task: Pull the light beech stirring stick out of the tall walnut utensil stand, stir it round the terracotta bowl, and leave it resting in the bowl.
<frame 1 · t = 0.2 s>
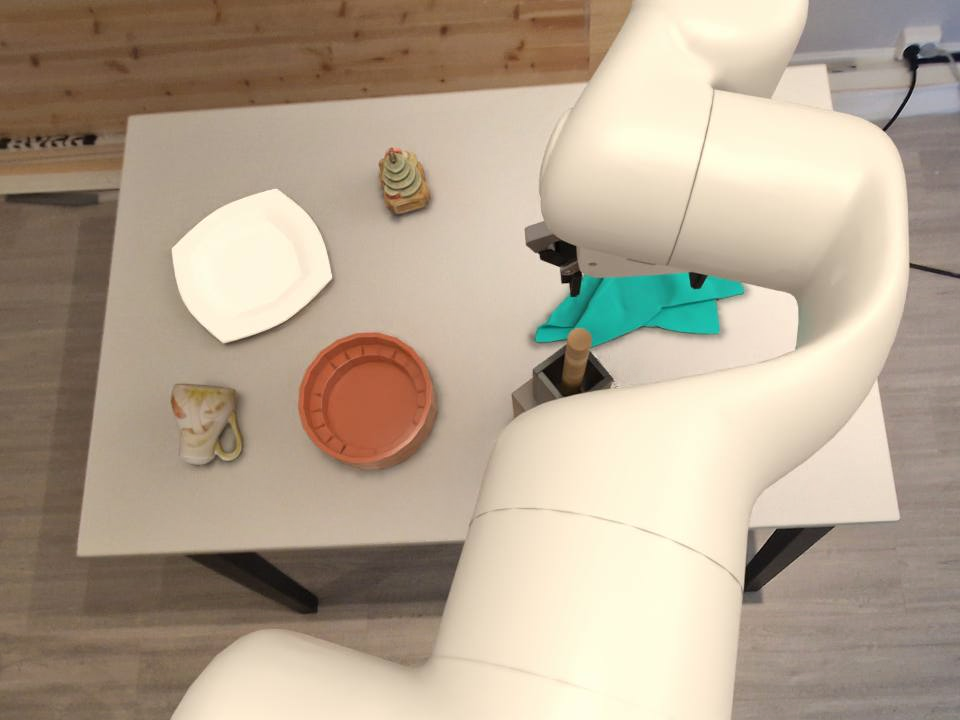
hand: (632, 276, 57), 28 cm above the table, tool pointing down, fingers open, 9 cm apart
plate: (256, 269, 92), on the table
ornament: (406, 191, 94), on the table
mug: (215, 427, 86), on the table
utensil stand: (562, 430, 83), on the table
stick: (568, 400, 69), point 14 cm above the table, touching utensil stand
cloth: (635, 293, 87), on the table
bowl: (374, 407, 85), on the table
knife: (670, 185, 92), on the table
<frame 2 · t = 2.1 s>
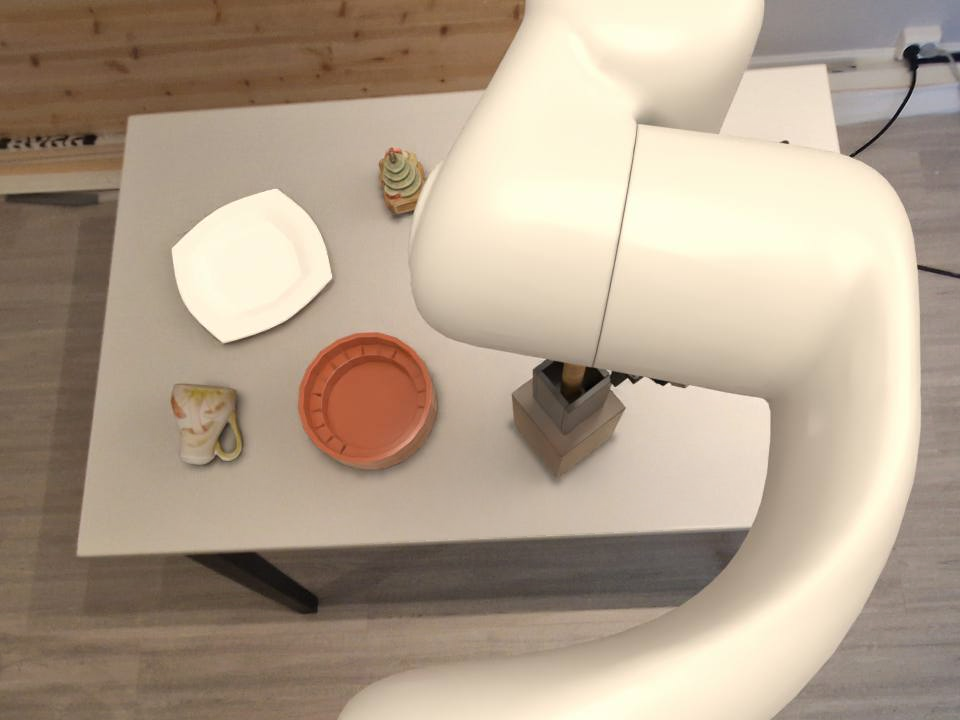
hand: (583, 318, 49), 36 cm above the table, tool pointing down, fingers open, 9 cm apart
nothing on the table moved.
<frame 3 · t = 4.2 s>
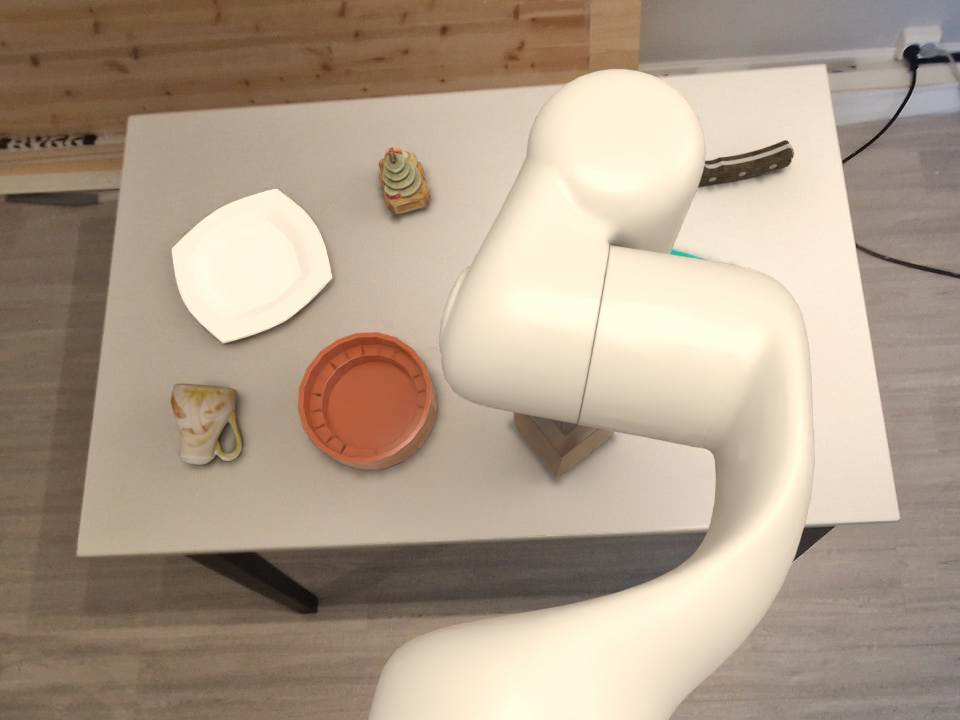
hand: (575, 361, 57), 27 cm above the table, tool pointing down, fingers closed on stick, 1 cm apart
stick: (568, 400, 69), point 14 cm above the table, touching gripper, utensil stand
everything else where it was.
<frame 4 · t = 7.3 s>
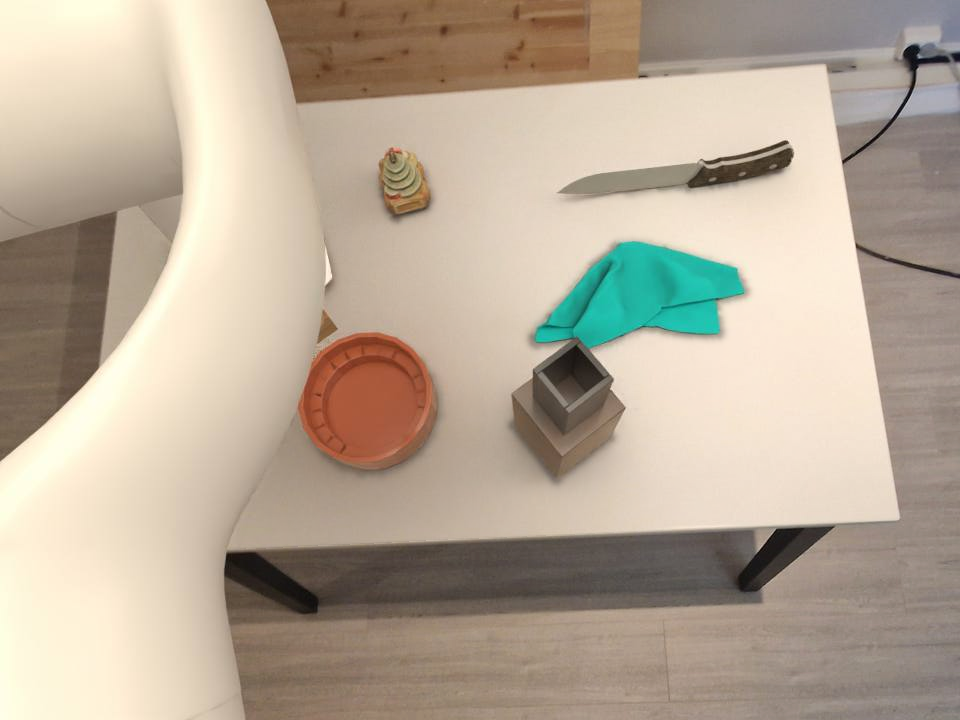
hand: (271, 271, 48), 39 cm above the table, tool pointing down, fingers closed on stick
stick: (323, 333, 60), point 26 cm above the table, touching gripper
everything else where it was.
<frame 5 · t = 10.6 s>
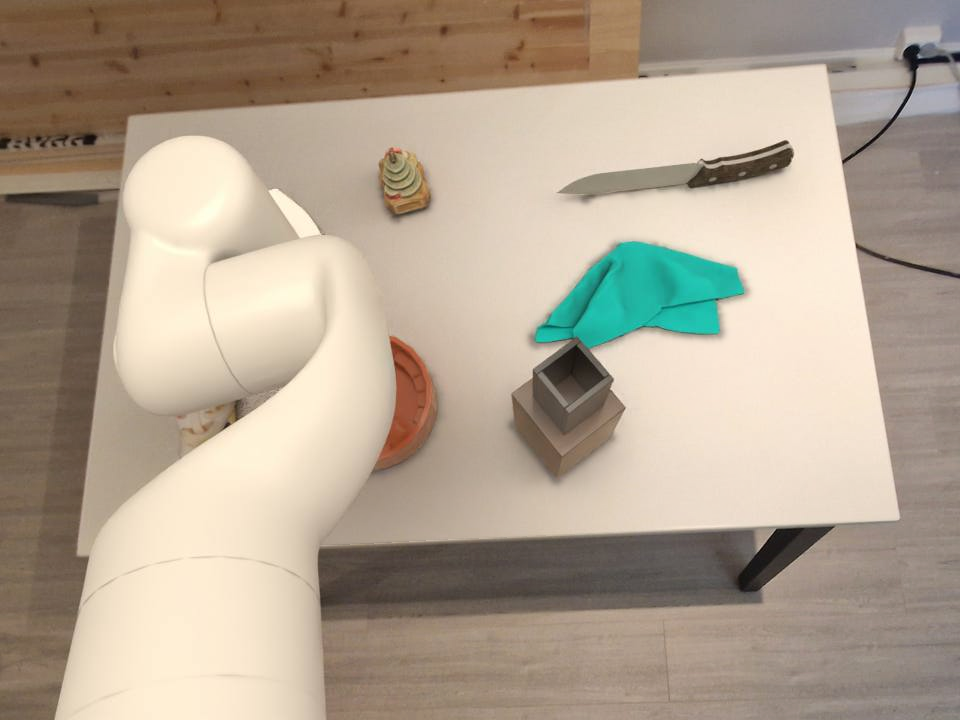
hand: (331, 356, 67), 19 cm above the table, tool pointing down, fingers closed on stick, 1 cm apart
stick: (362, 390, 79), point 7 cm above the table, touching gripper
everything else where it was.
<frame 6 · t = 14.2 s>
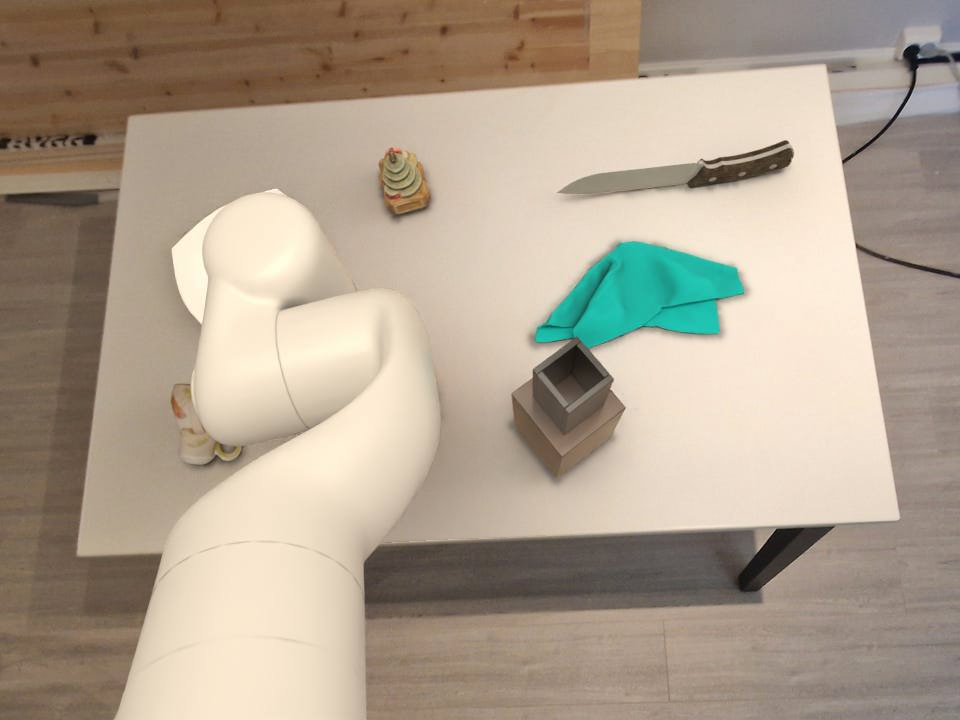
hand: (367, 379, 71), 14 cm above the table, tool pointing down, fingers closed on stick, 1 cm apart
stick: (391, 409, 83), point 2 cm above the table, touching gripper
everything else where it was.
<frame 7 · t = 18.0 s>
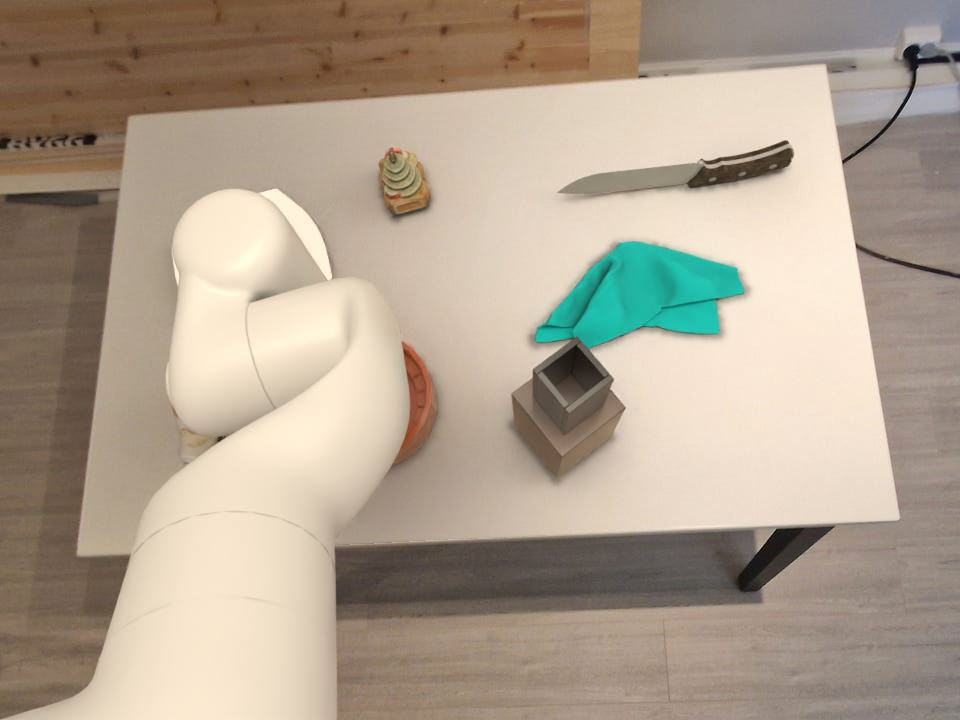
hand: (343, 372, 71), 15 cm above the table, tool pointing down, fingers open, 9 cm apart
stick: (373, 404, 85), point 1 cm above the table, touching bowl
everything else where it was.
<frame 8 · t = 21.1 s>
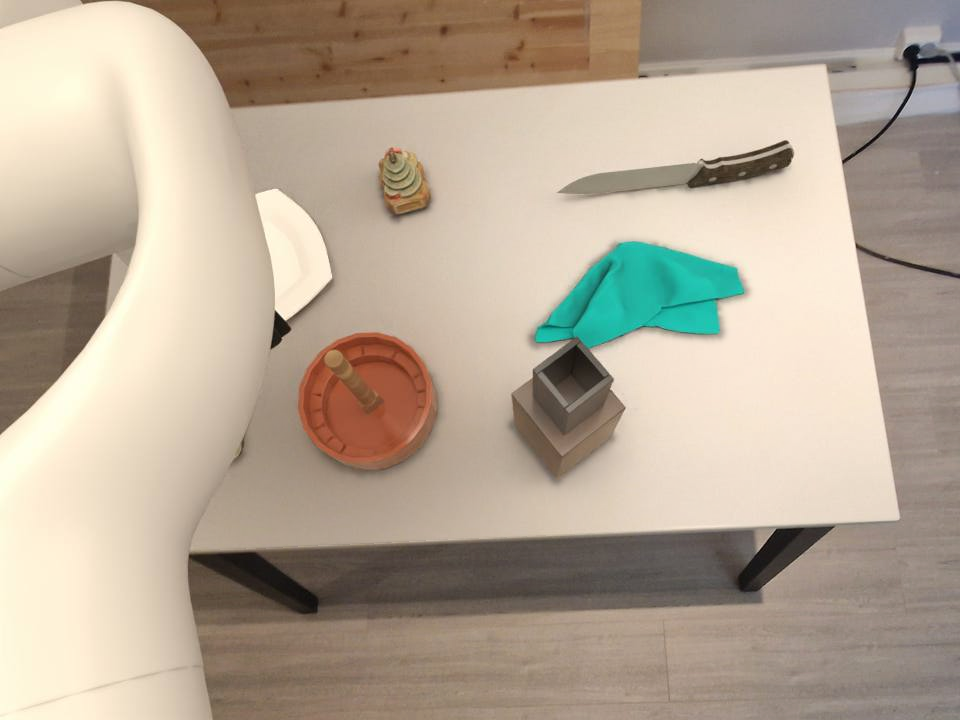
hand: (236, 290, 51), 36 cm above the table, tool pointing down, fingers open, 9 cm apart
nothing on the table moved.
at the end: stick inside the target area in the bowl (0.1 cm from its centre), point 0.6 cm above the bowl's base; stick moved 26.3 cm from its start; the gripper is holding nothing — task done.
